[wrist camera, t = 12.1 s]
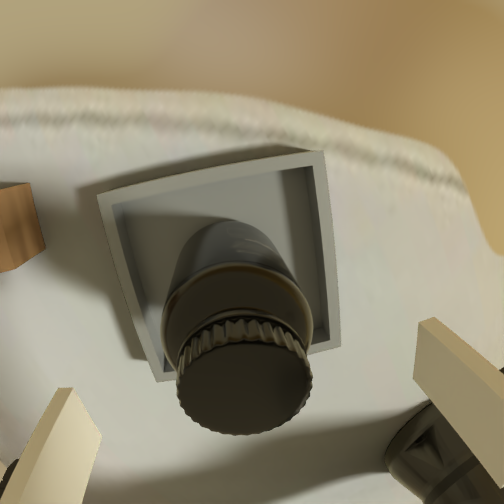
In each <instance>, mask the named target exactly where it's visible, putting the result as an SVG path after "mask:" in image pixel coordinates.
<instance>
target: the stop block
mask: <svg viewBox="0 0 504 504" xmlns="http://www.w3.org/2000/svg"><path fill="white" fill-rule="evenodd" d="M44 249H46V247H45V244H44V240H43V237H42V233H41V229H40V226H39V222H38V218H37V214H36V210H35V205H34V201H33V196H32V192H31V187H30V183H26V184H21V185H17V186H13V187H8V188H4V189H0V273H2V272H5V271H9V270H13V269H16V268H17V267H19V266H20V265H22V264H23V263H25V262H26V261H28V260H29V259H31V258H32V257H34V256H35V255H37V254H38V253H40V252H41V251H43V250H44Z"/></svg>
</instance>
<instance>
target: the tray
mask: <svg viewBox="0 0 504 504" xmlns="http://www.w3.org/2000/svg"><path fill="white" fill-rule="evenodd" d="M96 196H97V200H98V204H99V209H100V213H101V217H102V221H103V225H104V229H105V233H106V236H107V240H108V244H109V247H110V251H111V255H112V258H113V262H114V265H115V268H116V272H117V275H118V278H119V281H120V285H121V288H122V291H123V294H124V297H125V300H126V303H127V306H128V309H129V312H130V315H131V318H132V320H133V323H134V326H135V329H136V332H137V334H138V337H139V340H140V342H141V345H142V348H143V350H144V353H145V355H146V358H147V360H148V363H149V365H150V368H151V370H152V373H153V375H154V377H155V380H156V382H164V381H172V380H176V378H177V373H176V371H175V370H174V369H173V368H172V366H171V365H170V363H169V362H168V360H167V358H166V356H165V354H164V351H163V348H162V344H161V338H160V324H161V317H162V312H163V308H164V305H165V301H166V298H167V294H168V290H169V287H170V283H171V280H172V277H173V273H174V270H175V266H176V263H177V260H178V257H179V255H180V252H181V250H182V248H183V246H184V245H185V243H186V242H187V241H188V239H189V238H190V237H191V236H192V235H193V234H194V233H196V232H197V231H198V230H200V229H201V228H203V227H205V226H207V225H210V224H213V223H216V222H221V221H238V222H243V223H246V224H249V225H251V226H254V227H255V228H257V229H259V230H260V231H262V232H263V233H264V234H265V235H266V236H267V237H268V238H269V239H270V240H271V241H272V243H273V244H274V246H275V247H276V249H277V250H278V252H279V254H280V255H281V257H282V259H283V260H284V262H285V264H286V265H287V267H288V269H289V270H290V272H291V274H292V275H293V277H294V279H295V280H296V282H297V284H298V285H299V287H300V289H301V291H302V292H303V294H304V296H305V298H306V300H307V302H308V304H309V307H310V310H311V313H312V318H313V336H312V342H311V345H310V348H309V351H308V353H307V355H310V354H314V353H318V352H322V351H326V350H330V349H333V348H337V347H341V330H340V310H339V293H338V279H337V266H336V254H335V243H334V232H333V222H332V213H331V204H330V196H329V188H328V180H327V172H326V165H325V158H324V151H323V150H320V151H305V152H298V153H291V154H284V155H277V156H271V157H264V158H258V159H252V160H246V161H240V162H235V163H229V164H224V165H219V166H213V167H208V168H203V169H198V170H193V171H188V172H184V173H179V174H174V175H170V176H165V177H161V178H157V179H152V180H148V181H144V182H140V183H136V184H132V185H128V186H124V187H120V188H116V189H112V190H109V191H106V192H103V193H101V194H98V195H96Z"/></svg>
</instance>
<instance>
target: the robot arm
mask: <svg viewBox="0 0 504 504" xmlns="http://www.w3.org/2000/svg"><path fill="white" fill-rule="evenodd" d="M413 379H414V380H415V382H416V383H417V384H418V385H419V386H420V388H421V389H422V390H423V391H424V392H425V394H426V395H427V396H428V397H429V399H430V400H431V401H432V402H433V403H432V404H430V405H429V406H428V407H426V408H425V409H424V410H422V411H421V412H420V413H418V414H417V415H416V416H415V417H414V418H413V419H411V420H410V421H409V422H408V423H407V424H406V425H405V426H404V427H403V428H402V429H401V430H400V432H399V433H398V434H397V435H396V436H395V438H394V439H393V440H392V442H391V443H390V445H389V447H388V449H387V451H386V454H385V464H386V466H387V468H388V469H389V471H390V473H391V475H392V476H393V477H394V478H395V479H396V480H397V481H398V482H399V483H401V484H402V485H403V486H404V487H406V488H407V489H408V490H409V491H411V492H412V493H413V494H414V495H416V496H417V497H418V498H420V499H421V500H422V502H423V504H504V367H503V368H502V369H500V370H498V369H497V368H496V367H495V366H493V365H492V364H491V363H490V362H489V361H488V360H486V359H485V358H484V357H483V356H482V355H481V354H479V353H478V352H477V351H476V350H475V349H473V348H472V347H471V346H470V345H469V344H467V343H466V342H465V341H464V340H462V339H461V338H460V337H459V336H458V335H456V334H455V333H454V332H453V331H451V330H450V329H449V328H448V327H446V326H445V325H444V324H443V323H442V322H440V321H439V320H438V319H436V318H435V317H432V318H430V319H427V320H424V321H421V322H419V323H418V335H417V346H416V356H415V364H414V372H413ZM101 439H102V436H101V434H100V432H99V431H98V429H97V428H96V426H95V424H94V423H93V421H92V419H91V418H90V416H89V414H88V413H87V411H86V409H85V407H84V406H83V404H82V402H81V400H80V398H79V397H78V395H77V393H76V391H75V389H74V388H58V389H57V391H56V393H55V395H54V396H53V398H52V400H51V402H50V403H49V405H48V407H47V409H46V410H45V412H44V414H43V416H42V417H41V419H40V421H39V423H38V425H37V427H36V428H35V430H34V432H33V434H32V436H31V438H30V440H29V442H28V443H27V445H26V447H25V449H24V451H23V453H22V455H21V457H20V459H16V460H15V461H14V462H13V463H12V464H11V465H10V466H9V467H8V468H7V470H6V472H5V474H4V476H3V481H1V483H0V504H82V501H83V497H84V494H85V490H86V487H87V484H88V480H89V477H90V474H91V470H92V467H93V464H94V461H95V458H96V454H97V451H98V448H99V445H100V442H101Z"/></svg>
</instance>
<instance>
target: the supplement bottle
mask: <svg viewBox="0 0 504 504" xmlns="http://www.w3.org/2000/svg"><path fill="white" fill-rule="evenodd" d="M312 336H313V318H312V313H311V310H310V307H309V304H308V302H307V300H306V298H305V296H304V294H303V292H302V291H301V289H300V287H299V285H298V284H297V282H296V280H295V279H294V277H293V275H292V274H291V272H290V270H289V269H288V267H287V265H286V264H285V262H284V260H283V259H282V257H281V255H280V254H279V252H278V250H277V249H276V247H275V246H274V244H273V243H272V241H271V240H270V239H269V238H268V237H267V236H266V235H265V234H264V233H263V232H262V231H260V230H259V229H257V228H255V227H254V226H251V225H249V224H246V223H243V222H238V221H221V222H216V223H213V224H210V225H207V226H205V227H203V228H201V229H200V230H198V231H197V232H196V233H194V234H193V235H192V236H191V237H190V238H189V239H188V241H187V242H186V243H185V245H184V246H183V248H182V250H181V252H180V255H179V257H178V260H177V263H176V266H175V270H174V273H173V277H172V280H171V283H170V287H169V290H168V294H167V298H166V301H165V305H164V308H163V312H162V317H161V324H160V338H161V344H162V348H163V351H164V354H165V356H166V358H167V360H168V362H169V363H170V365H171V366H172V368H173V369H174V370H175V371H176V373H177V378H176V386H177V397H178V399H179V403H180V406H181V407H182V408H183V409H184V410H185V414H186V415H188V416H190V417H191V419H192V420H193V421H194V422H197V423H199V424H200V425H201V426H202V427H205V428H208V429H210V430H211V431H214V432H219V433H222V434H231V435H234V436H236V435H250V434H259V433H262V432H264V431H270V430H272V429H273V428H275V427H279V426H281V425H283V424H284V423H285V422H287V421H290V420H291V419H292V417H293V416H295V415H296V414H298V413H299V411H300V409H301V408H302V407H304V406H305V404H306V400H307V399H308V398H309V397H310V391H311V389H312V382H311V381H312V378H313V375H312V372H311V369H310V364H309V361H308V359H307V353H308V351H309V348H310V345H311V342H312Z"/></svg>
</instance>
